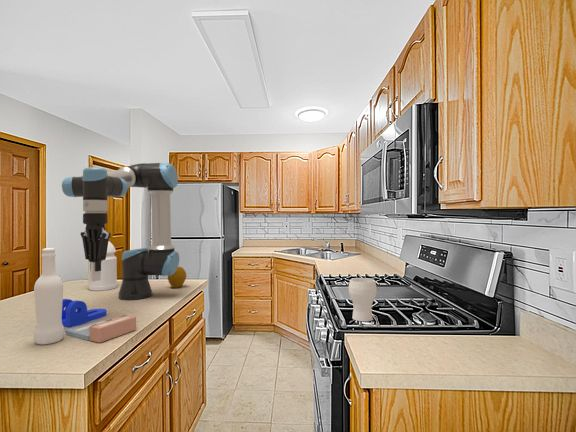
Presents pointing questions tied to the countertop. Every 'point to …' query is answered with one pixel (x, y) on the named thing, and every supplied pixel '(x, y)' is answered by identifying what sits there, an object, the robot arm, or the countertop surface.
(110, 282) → the bottle
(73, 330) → the ticket
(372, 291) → the cup
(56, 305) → the bottle
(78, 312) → the bracket
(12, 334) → the countertop surface
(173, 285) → the apple
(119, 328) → the stub
